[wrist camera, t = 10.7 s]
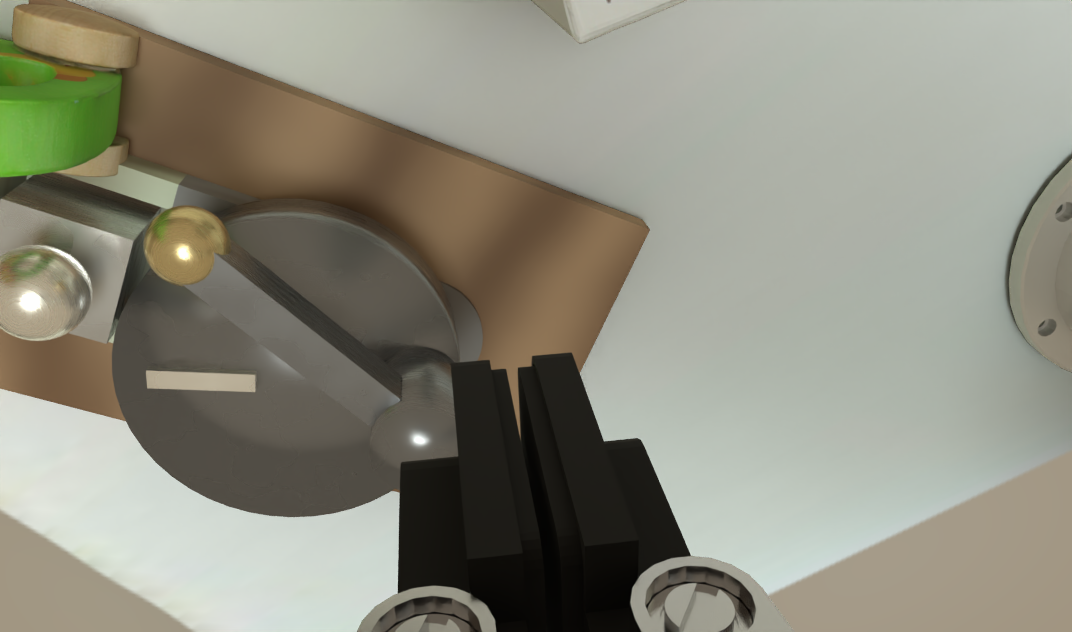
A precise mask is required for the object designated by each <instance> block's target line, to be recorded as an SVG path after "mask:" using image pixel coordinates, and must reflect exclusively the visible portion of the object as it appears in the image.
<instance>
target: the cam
mask: <svg viewBox="0 0 1072 632" xmlns="http://www.w3.org/2000/svg"><path fill="white" fill-rule="evenodd" d="M144 253H145V257H146V260H147V262H148V264H149V266H150V269H149V270H148V271H147V273H146V274H145V276H144V277H143V278H142V280H141V281H140V283H139V284H138V285H137V287H136V288H135V290H134V291H133V292H132V294H131V295H130V297H129V299H128V301H127V303H126V305H125V307H124V309H123V311H122V313H121V315H120V318H119V322H118V325H117V328H116V331H115V335H114V342H113V348H112V376H113V382H114V388H115V394H116V397H117V400H118V403H119V405H120V408H121V411H122V414H123V416H124V418H125V420H126V422H127V424H128V426H129V428H130V430H131V431H132V433H133V434H134V436H135V437H136V439H137V440H138V442H139V443H140V444H141V446H142V447H143V448H144V450H145V451H146V452H147V453H148V454H149V455H150V456H151V457H152V458H153V460H154V461H155V462H156V463H157V464H158V465H159V466H161V467H162V468H163V469H164V470H165V471H166V472H168V473H169V474H170V475H171V476H172V477H174V478H175V479H177V480H178V481H179V482H181V483H182V484H184V485H185V486H187V487H188V488H190V489H192V490H194V491H195V492H197V493H199V494H201V495H203V496H205V497H207V498H209V499H211V500H214V501H216V502H219V503H221V504H224V505H226V506H229V507H233V508H236V509H240V510H243V511H247V512H252V513H258V514H263V515H269V516H283V517H305V516H317V515H324V514H331V513H336V512H340V511H344V510H348V509H352V508H355V507H357V506H360V505H363V504H366V503H368V502H371V501H373V500H375V499H377V498H379V497H381V496H383V495H385V494H387V493H389V492H390V491H392V490H393V489H398V490H400V466H401V462H406V461H416V460H426V459H436V458H446V457H456V456H458V447H457V435H456V423H455V411H454V399H453V388H452V376H451V364H450V363H458V362H461V360H460V350H459V341H458V335H457V332H456V325H455V319H454V316H453V312H452V309H451V305H450V302H449V300H448V297H447V295H446V293H445V291H444V288H443V286H442V284H441V283H440V281H439V280H438V278H437V276H436V275H435V273H434V272H433V270H432V268H431V267H430V266H429V265H428V264H427V262H426V261H425V260H424V259H423V258H422V256H421V255H420V254H419V253H418V252H417V251H416V250H415V249H414V248H413V247H412V246H411V245H410V244H409V243H407V242H406V241H405V240H404V239H403V238H402V237H400V236H399V235H398V234H396V233H395V232H393V231H392V230H391V229H389V228H388V227H386V226H385V225H383V224H381V223H379V222H377V221H376V220H374V219H372V218H370V217H368V216H366V215H364V214H361V213H359V212H356V211H354V210H351V209H349V208H346V207H343V206H339V205H335V204H331V203H327V202H323V201H316V200H308V199H301V198H274V199H265V200H257V201H251V202H247V203H243V204H239V205H235V206H232V207H229V208H226V209H224V210H221V211H219V212H216V213H211V212H210V211H208V210H206V209H203V208H201V207H197V206H190V205H182V206H176V207H172V208H170V209H167V210H165V211H163V212H161V213H160V214H159V215H158V216H156V217H155V218H154V219H153V220H152V222H151V223H150V225H149V226H148V228H147V230H146V233H145V237H144Z"/></svg>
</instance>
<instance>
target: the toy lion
mask: <svg viewBox="0 0 1072 632" xmlns="http://www.w3.org/2000/svg"><path fill="white" fill-rule="evenodd" d="M12 39H13V41H9V40H3V39H0V177H15V176H28V175H37V174H45V173H51V172H54V173H59V174H65V175H74V176H84V177H109V176H115V175H117V174H118V166H119V164H121V163H124V162H125V161H126V160H127V157H128V149H129V140H128V139H126V138H124V137H119V136H115V135H116V131H117V124H118V115H119V104H120V93H121V83H122V74H121V72H120V69H121V68H132V67H134V66H135V65H136V59H137V50H138V42H139V34H138V32H136V31H135V30H133V29H131V28H129V27H127V26H125V25H123V24H121V23H118V22H116V21H113V20H111V19H108V18H105V17H102V16H99V15H97V14H94V13H90V12H86V11H81V10H77V9H72V8H65V7H59V6H52V5H39V4H22V5H18V6H16V7H15V8H14V14H13V26H12Z"/></svg>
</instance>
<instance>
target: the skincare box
mask: <svg viewBox="0 0 1072 632" xmlns="http://www.w3.org/2000/svg"><path fill="white" fill-rule="evenodd" d="M532 1H533V2H534V3H535V4H536V5H537V6H538V7H539V8H541V9H542V10H543V11H544V12H545V13H546V14H547V15H548V16H549V17H551V18H552V19H553V20H554V21H555V22H556V23H557V24H558V25H560V26H561V27H562V28H563V29H564V30H565V31H566V32H567V33H568V34H569V35H571V36H572V37H573V38H574V39H575V40H576V41H577V42H578V43H579V44H581V43H586V42H588V41H590V40H593V39H595V38H597V37H599V36H602V35H604V34H606V33H608V32H611V31H613V30H615V29H618V28H620V27H623V26H626V25H628V24H631V23H633V22H636V21H639V20H641V19H643V18H646V17H648V16H650V15H653V14H655V13H657V12H660V11H662V10H664V9H667V8H669V7H672V6H674V5H676V4H679V3H681V2H683V1H686V0H532Z"/></svg>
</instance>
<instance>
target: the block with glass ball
mask: <svg viewBox="0 0 1072 632" xmlns="http://www.w3.org/2000/svg"><path fill="white" fill-rule="evenodd" d="M160 210H161V207H159V206H156V205H153V204H150V203H147V202H144V201H141V200H138V199H135V198H132V197H129V196H126V195H123V194H120V193H117V192H114V191H111V190H108V189H105V188H102V187H99V186H95V185H92V184H89V183H86V182H83V181H80V180H77V179H74V178H71V177H68V176H65V175H62V174H59V173H54V172H51V173H45V174H37V175H33V176H31V177H30V178H29V179H27V180H26V181H25V182H23V183H22V184H20V185H19V186H18V187H16V188H15V189H13V190H12V191H11V192H9V193H8V194H7V195H5V196H4V197H2V198H1V200H0V329H2V330H3V331H5V332H6V333H8V334H10V335H12V336H15V337H17V338H20V339H24V340H30V341H45V340H51V339H55V338H58V337H61V336H63V335H65V334H67V333H70V334H73V335H77V336H80V337H84V338H87V339H91V340H94V341H98V342H102V343H105V344H107V343H108V342H109V340H110V339H111V337H112V336H113V334H114V333H115V331H116V328H117V325H118V322H119V318H120V315H121V313H122V311H123V309H124V307H125V305H126V303H127V301H128V299H129V297H130V295H131V294H132V292H133V291H134V290H135V288H136V287H137V285H138V284H139V283H140V281H141V280H142V277H143V273H144V269H145V266H146V262H147V260H146V257H145V253H144V237H145V233H146V230H147V228H148V226H149V225H150V223H151V222H152V220H153V219H154V218H155V217H156V216H158V215H159V213H160Z"/></svg>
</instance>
